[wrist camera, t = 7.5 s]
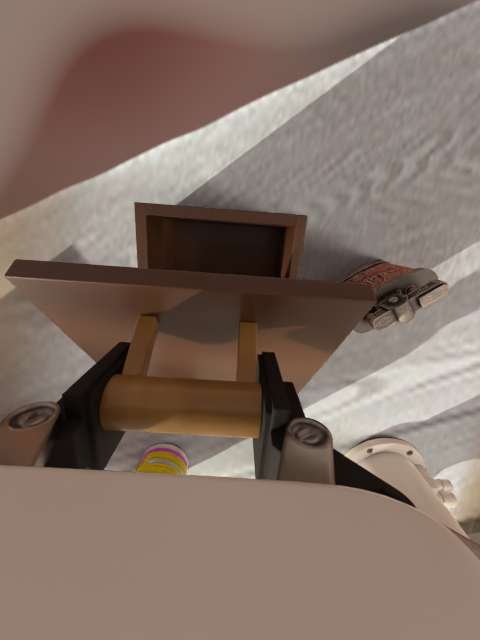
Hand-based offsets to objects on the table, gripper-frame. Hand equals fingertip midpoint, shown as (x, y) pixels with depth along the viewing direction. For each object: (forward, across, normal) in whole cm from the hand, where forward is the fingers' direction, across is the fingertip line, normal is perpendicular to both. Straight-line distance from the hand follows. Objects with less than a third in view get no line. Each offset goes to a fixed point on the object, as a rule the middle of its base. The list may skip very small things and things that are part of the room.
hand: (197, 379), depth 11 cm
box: (+19, 0, +1) cm, 19 cm away
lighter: (+19, -15, -2) cm, 25 cm away
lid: (+5, 0, +2) cm, 5 cm away
